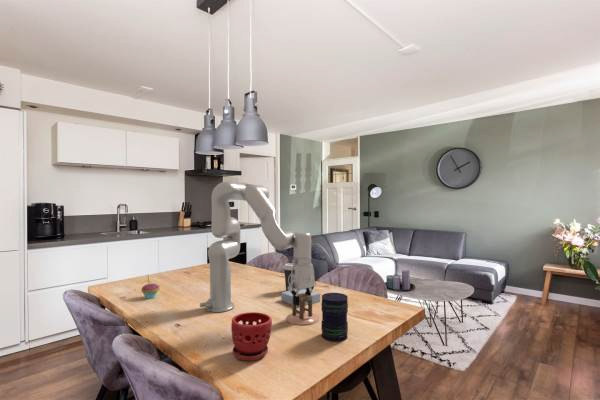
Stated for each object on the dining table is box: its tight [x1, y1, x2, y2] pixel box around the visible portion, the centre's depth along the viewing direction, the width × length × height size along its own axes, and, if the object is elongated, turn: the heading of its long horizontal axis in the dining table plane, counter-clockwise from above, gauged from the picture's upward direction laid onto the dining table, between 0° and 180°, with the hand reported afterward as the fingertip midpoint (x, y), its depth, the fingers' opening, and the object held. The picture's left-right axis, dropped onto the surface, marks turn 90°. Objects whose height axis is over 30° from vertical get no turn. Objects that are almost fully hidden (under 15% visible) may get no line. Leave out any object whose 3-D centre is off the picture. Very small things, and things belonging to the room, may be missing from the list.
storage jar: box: [320, 292, 349, 343], centre depth 118 cm, size 10×10×15 cm
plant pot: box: [230, 312, 273, 362], centre depth 104 cm, size 13×13×12 cm
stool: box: [291, 293, 313, 320], centre depth 136 cm, size 6×6×9 cm
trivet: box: [285, 311, 319, 326], centre depth 136 cm, size 14×14×1 cm
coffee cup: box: [282, 262, 294, 292], centre depth 176 cm, size 10×10×15 cm
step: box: [280, 289, 321, 308], centre depth 160 cm, size 14×14×4 cm
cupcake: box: [141, 274, 160, 300], centre depth 165 cm, size 9×8×12 cm
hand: (302, 302), depth 136 cm, fingers closed on stool, 5 cm apart
